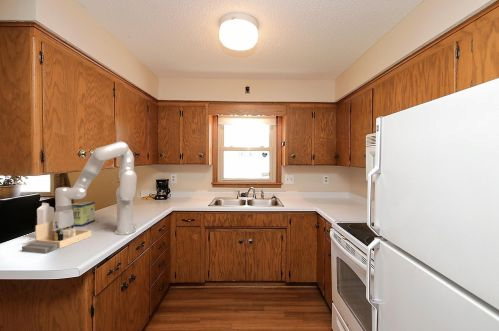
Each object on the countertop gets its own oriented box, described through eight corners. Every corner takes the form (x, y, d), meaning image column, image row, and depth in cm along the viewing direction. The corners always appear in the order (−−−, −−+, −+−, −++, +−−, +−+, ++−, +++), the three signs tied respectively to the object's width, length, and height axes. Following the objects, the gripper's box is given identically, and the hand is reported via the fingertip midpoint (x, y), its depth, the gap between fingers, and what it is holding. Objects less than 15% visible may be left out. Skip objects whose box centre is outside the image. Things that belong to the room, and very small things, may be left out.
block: (61, 239, 154) (61, 228, 154) (75, 240, 152) (75, 228, 152) (54, 241, 150) (54, 230, 149) (69, 243, 148) (68, 231, 148)
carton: (69, 235, 163) (69, 216, 162) (91, 237, 160) (90, 218, 159) (36, 247, 142) (35, 225, 142) (59, 249, 139) (59, 227, 139)
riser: (34, 247, 141) (34, 242, 141) (57, 249, 138) (57, 244, 138) (22, 252, 135) (21, 246, 134) (45, 254, 132) (45, 248, 132)
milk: (48, 237, 160) (47, 202, 159) (55, 238, 158) (54, 202, 157) (37, 239, 154) (36, 203, 154) (44, 241, 152) (43, 204, 151)
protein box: (67, 226, 183) (66, 205, 183) (82, 221, 199) (81, 201, 198) (81, 226, 183) (81, 205, 182) (95, 221, 199) (95, 201, 198)
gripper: (71, 205, 159) (71, 234, 160) (44, 211, 143) (45, 243, 143) (81, 205, 158) (81, 234, 159) (55, 211, 141) (56, 244, 142)
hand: (64, 238), depth 151 cm, fingers closed on block, 4 cm apart
